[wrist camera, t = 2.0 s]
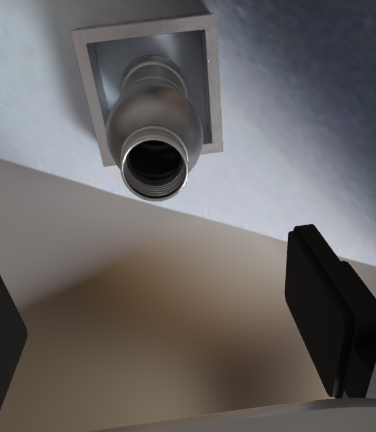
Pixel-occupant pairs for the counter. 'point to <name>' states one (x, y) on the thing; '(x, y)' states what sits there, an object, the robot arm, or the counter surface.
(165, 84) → the plastic bottle
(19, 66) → the counter surface
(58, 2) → the counter surface
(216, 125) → the holder
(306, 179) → the counter surface
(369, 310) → the robot arm
